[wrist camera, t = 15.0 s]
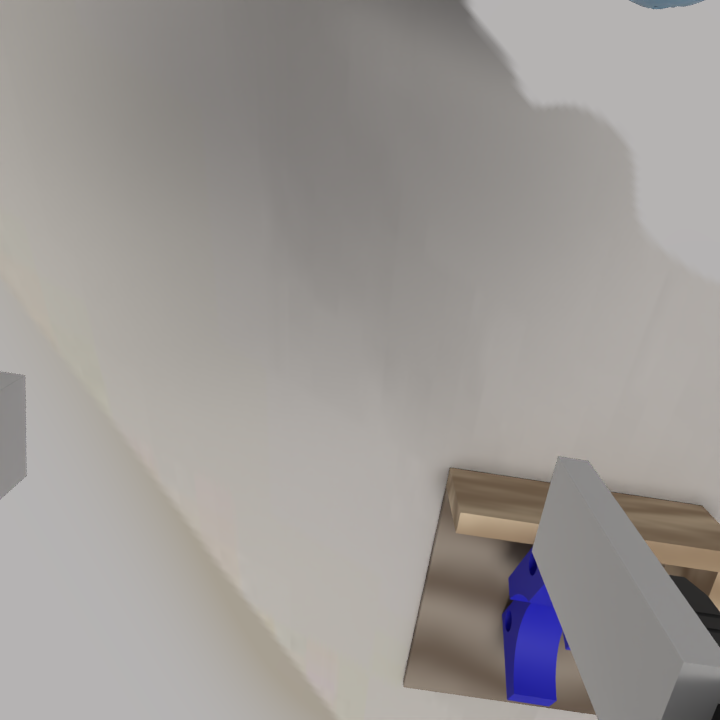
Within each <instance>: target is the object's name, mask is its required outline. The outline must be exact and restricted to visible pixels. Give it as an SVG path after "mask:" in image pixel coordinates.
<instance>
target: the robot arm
mask: <svg viewBox="0 0 720 720" xmlns="http://www.w3.org/2000/svg"><path fill="white" fill-rule="evenodd" d="M630 1H632V2H634V3H636V4H638V5H640V6H643V7H647V8H652V9H663V8H668V7H676V6H683V7H684V6H688V5H693V4H696V3H699V2H701V1H704V0H630ZM25 397H26V395H25V375H21V374H13V373H7V372H0V499H1V498H2V497H3V496H5V495H6V494H7V493H8V492H9V491H10V490H11V489H12V488H14V487H15V486H16V485H17V484H18V483H19V482H20V481H22V480H23V479H24V478H25V477H26V476H27V475H26V399H25ZM532 553H533V556H534V558H535V561H536V563H537V566H538V568H539V571H540V574H541V576H542V579H543V581H544V584H545V586H546V589H547V591H548V594H549V596H550V599H551V601H552V604H553V607H554V609H555V612H556V614H557V617H558V619H559V622H560V624H561V627H562V629H563V632H564V634H565V637H566V640H567V642H568V645H569V647H570V650H571V652H572V655H573V657H574V660H575V662H576V665H577V667H578V670H579V673H580V675H581V678H582V680H583V683H584V685H585V688H586V690H587V693H588V695H589V698H590V700H591V703H592V706H593V708H594V711H595V713H596V716H597V718H598V720H720V611H719V610H718V608H717V607H716V606H715V605H714V603H713V602H712V601H711V599H710V598H709V597H708V595H706V594H705V593H704V592H703V591H701V590H700V589H699V588H698V587H696V586H695V585H694V584H693V583H691V582H690V581H689V580H688V579H686V578H685V577H681V576H674V575H668V573H667V572H666V570H665V569H664V567H663V566H662V565H661V563H660V562H659V560H658V559H657V558H656V556H655V555H654V553H653V552H652V550H651V549H650V548H649V546H648V545H647V543H646V542H645V540H644V539H643V538H642V536H641V535H640V533H639V532H638V531H637V529H636V528H635V526H634V525H633V523H632V522H631V521H630V519H629V518H628V516H627V515H626V513H625V512H624V511H623V509H622V508H621V506H620V505H619V503H618V502H617V501H616V499H615V498H614V496H613V495H612V494H611V492H610V491H609V489H608V488H607V486H606V485H605V484H604V482H603V481H602V479H601V478H600V476H599V475H598V474H597V472H596V471H595V469H594V468H593V466H592V465H591V464H590V462H589V461H586V460H580V459H573V458H567V457H560V456H558V458H557V462H556V465H555V469H554V472H553V476H552V480H551V483H550V487H549V490H548V494H547V498H546V501H545V505H544V509H543V512H542V516H541V519H540V523H539V527H538V530H537V534H536V538H535V541H534V545H533V548H532Z"/></svg>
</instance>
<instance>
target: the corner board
mask: <svg viewBox="0 0 720 720" xmlns="http://www.w3.org/2000/svg"><path fill="white" fill-rule="evenodd" d="M549 487H550V483H548V482H541V481H535V480H528V479H521V478H515V477H508V476H502V475H495V474H488V473H482V472H475V471H469V470H462V469H455V468H450V470H449V475H448V480H447V484H446V489H445V493H444V498H443V502H442V507H441V512H440V516H439V521H438V525H437V530H436V534H435V539H434V544H433V548H432V553H431V557H430V562H429V566H428V571H427V576H426V580H425V585H424V589H423V594H422V598H421V603H420V607H419V612H418V617H417V621H416V626H415V630H414V635H413V639H412V644H411V649H410V653H409V658H408V662H407V667H406V671H405V676H404V681H403V684H404V687H407V688H414V689H421V690H428V691H434V692H441V693H448V694H455V695H462V696H469V697H476V698H483V699H490V700H497V701H504V702H511V703H518V704H525V705H532V706H539V707H546V708H553V709H559V710H566V711H573V712H580V713H587V714H594V715H596V713H595V711H594V708H593V706H592V703H591V700H590V698H589V695H588V693H587V690H586V688H585V685H584V683H583V680H582V678H581V675H580V673H579V670H578V667H577V665H576V662H575V660H574V657H573V655H572V652H571V650H566V649H565V643H564V637H563V632H562V634H561V638H560V642H559V647H558V653H557V661H556V697H557V701H556V702H554V703H553V704H551V705H550V706H549V707H548V706H542V705H536V704H529V703H523V702H517V701H510V700H507V692H506V675H505V657H504V639H503V621H502V614H503V612H504V611H505V610H506V609H507V608H508V606H509V605H510V604H511V603H512V602H513V600H511V599H510V596H509V581H508V578H509V576H510V575H511V574H512V573H513V571H514V570H515V569H516V567H517V566H518V565H519V563H520V562H521V561H522V560H523V558H524V557H525V556H526V554H527V553H528V552H529V551H530V549H531V548H532V547H533V545H534V541H535V538H536V534H537V530H538V527H539V523H540V519H541V516H542V512H543V509H544V505H545V501H546V498H547V494H548V490H549ZM611 494H612V495H613V496H614V498H615V499H616V501H617V502H618V503H619V505H620V506H621V508H622V509H623V511H624V512H625V513H626V515H627V516H628V518H629V519H630V521H631V522H632V523H633V525H634V526H635V528H636V529H637V531H638V532H639V533H640V535H641V536H642V538H643V539H644V540H645V542H646V543H647V545H648V546H649V548H650V549H651V550H652V552H653V553H654V555H655V556H656V558H657V559H658V560H659V562H660V563H661V565H662V566H663V567H664V569H665V570H666V572H667V573H668V575H674V576H681V577H685V578H686V579H688V580H689V581H690V582H691V583H693V584H694V585H695V586H696V587H698V588H699V589H700V590H701V591H703V592H704V593H705V594H706V595H708V597H709V598H710V599H711V601H712V602H713V603H714V605H715V606H716V607H717V608H718V610H719V611H720V524H719V523H718V522H717V521H716V520H715V519H714V518H713V517H712V516H711V515H710V514H709V512H708V511H707V510H706V509H705V508H704V507H703V506H700V505H694V504H687V503H680V502H674V501H667V500H660V499H654V498H647V497H641V496H634V495H627V494H621V493H614V492H611Z"/></svg>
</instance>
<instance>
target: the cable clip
mask: <svg viewBox="0 0 720 720" xmlns="http://www.w3.org/2000/svg"><path fill="white" fill-rule="evenodd" d="M532 548H533V547H532ZM532 548H531V549H530V551H529V552H528V553H527V554H526V556H525V557H524V558H523V560H522V561H521V562H520V563H519V565H518V566H517V567H516V569H515V570H514V571H513V573H512V574H511V575H510V576H509V578H508V581H509V596H510V599H511V600H513V602H512V603H511V604H510V605H509V606H508V608H507V609H506V610H505V611H504V612H503V614H502V621H503V639H504V657H505V675H506V692H507V700H510V701H517V702H523V703H529V704H536V705H542V706H548V707H549V706H550V705H551V704H553V703H554V702H556V701H557V697H556V661H557V653H558V647H559V642H560V638H561V634H562V632H563V629H562V627H561V624H560V622H559V619H558V617H557V614H556V612H555V609H554V607H553V604H552V601H551V599H550V596H549V594H548V591H547V589H546V586H545V584H544V581H543V579H542V576H541V574H540V571H539V568H538V566H537V563H536V561H535V558H534V556H533V553H532ZM563 637H564V643H565V649H566V650H570V647H569V645H568V642H567V640H566V637H565V634H564V632H563Z"/></svg>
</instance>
